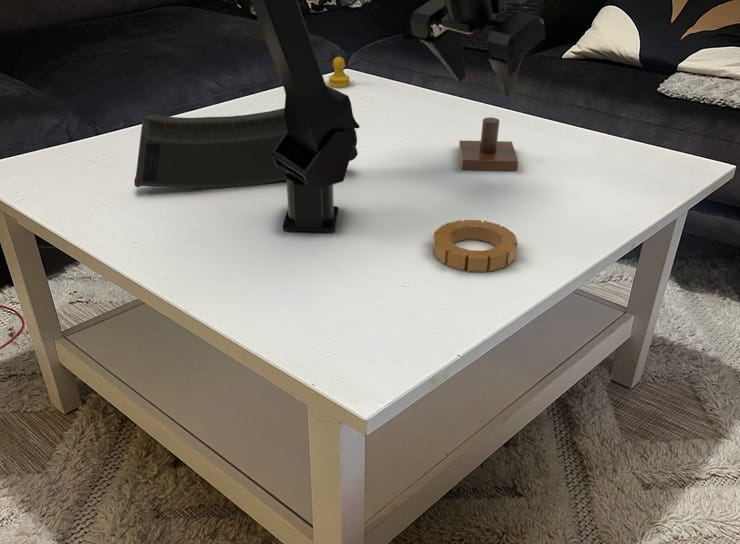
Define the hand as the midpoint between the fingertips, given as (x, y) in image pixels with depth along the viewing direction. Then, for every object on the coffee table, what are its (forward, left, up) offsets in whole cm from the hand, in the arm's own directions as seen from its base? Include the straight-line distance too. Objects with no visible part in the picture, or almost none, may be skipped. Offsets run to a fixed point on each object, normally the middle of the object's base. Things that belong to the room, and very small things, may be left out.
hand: (485, 87), depth 98 cm
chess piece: (+43, +23, -12) cm, 50 cm away
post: (+6, -2, -12) cm, 14 cm away
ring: (-23, +2, -12) cm, 26 cm away
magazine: (-4, +32, -12) cm, 35 cm away
